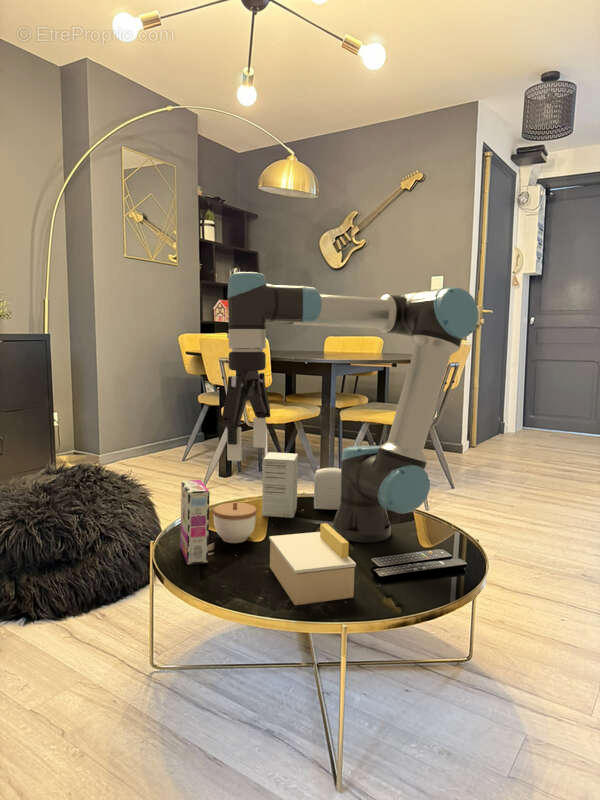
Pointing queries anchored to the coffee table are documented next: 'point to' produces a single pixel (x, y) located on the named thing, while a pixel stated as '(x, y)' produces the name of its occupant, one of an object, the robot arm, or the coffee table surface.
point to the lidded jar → (234, 521)
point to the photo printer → (327, 488)
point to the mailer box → (312, 581)
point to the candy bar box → (194, 521)
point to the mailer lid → (314, 550)
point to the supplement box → (279, 484)
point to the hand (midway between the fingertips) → (247, 453)
